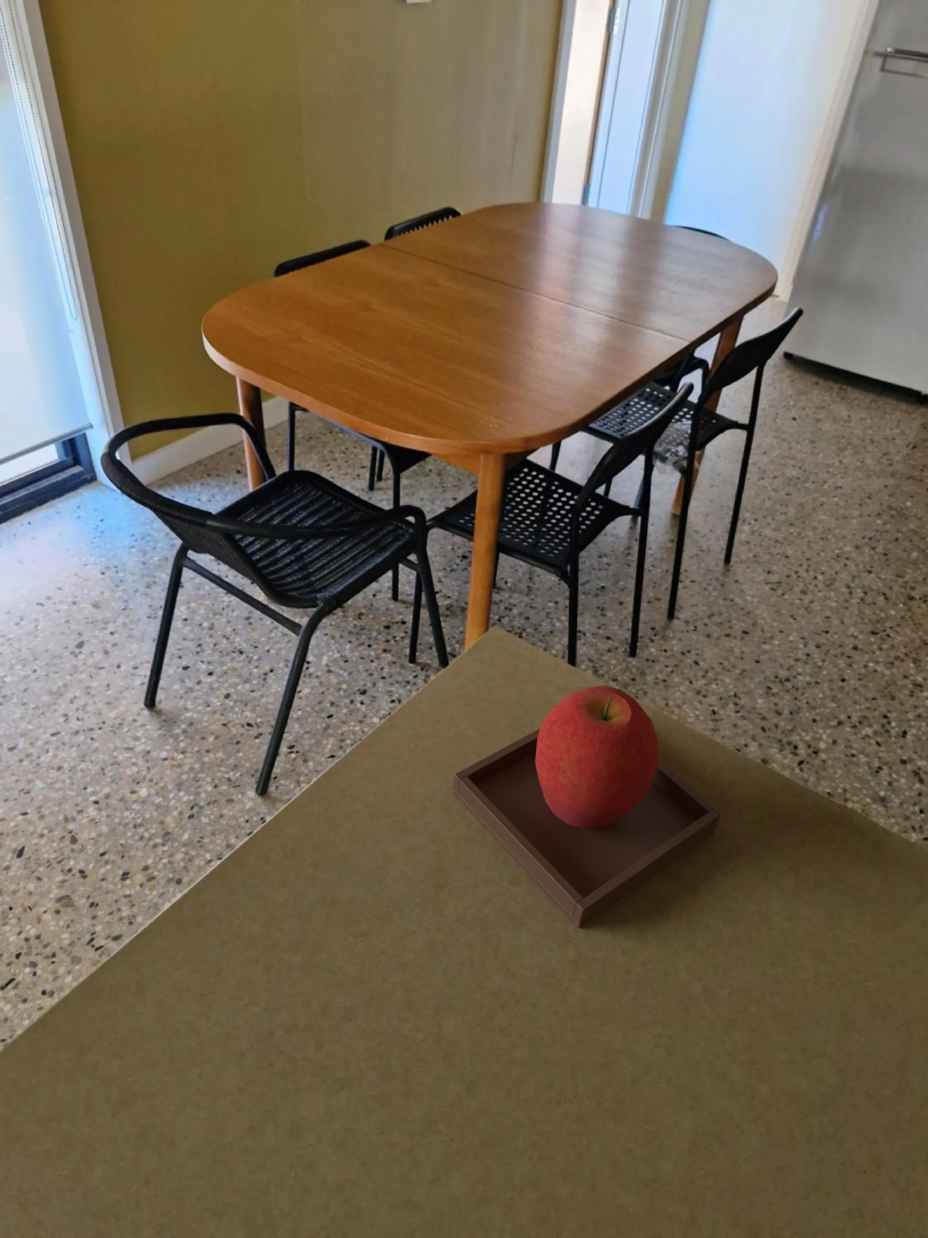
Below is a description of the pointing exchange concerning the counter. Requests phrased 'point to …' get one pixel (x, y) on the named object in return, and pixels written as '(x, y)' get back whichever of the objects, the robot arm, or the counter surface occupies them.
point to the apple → (596, 756)
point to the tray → (581, 830)
